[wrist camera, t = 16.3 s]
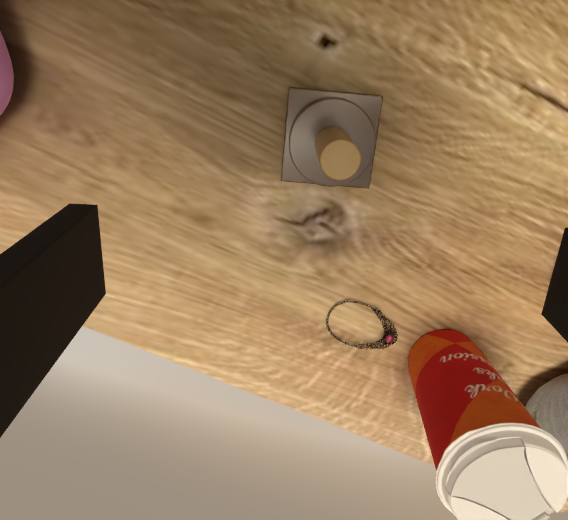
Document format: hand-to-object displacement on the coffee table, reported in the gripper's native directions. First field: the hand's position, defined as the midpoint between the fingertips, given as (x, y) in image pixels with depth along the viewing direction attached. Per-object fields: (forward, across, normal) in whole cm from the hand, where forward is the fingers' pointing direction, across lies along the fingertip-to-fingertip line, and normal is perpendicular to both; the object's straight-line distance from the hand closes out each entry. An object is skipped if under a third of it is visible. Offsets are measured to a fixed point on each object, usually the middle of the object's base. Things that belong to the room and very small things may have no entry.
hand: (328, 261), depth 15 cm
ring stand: (+25, +2, -1) cm, 25 cm away
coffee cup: (+25, +13, -19) cm, 34 cm away
